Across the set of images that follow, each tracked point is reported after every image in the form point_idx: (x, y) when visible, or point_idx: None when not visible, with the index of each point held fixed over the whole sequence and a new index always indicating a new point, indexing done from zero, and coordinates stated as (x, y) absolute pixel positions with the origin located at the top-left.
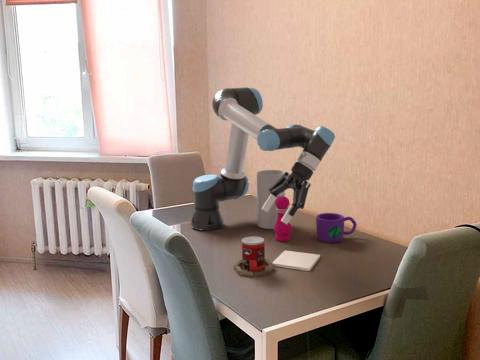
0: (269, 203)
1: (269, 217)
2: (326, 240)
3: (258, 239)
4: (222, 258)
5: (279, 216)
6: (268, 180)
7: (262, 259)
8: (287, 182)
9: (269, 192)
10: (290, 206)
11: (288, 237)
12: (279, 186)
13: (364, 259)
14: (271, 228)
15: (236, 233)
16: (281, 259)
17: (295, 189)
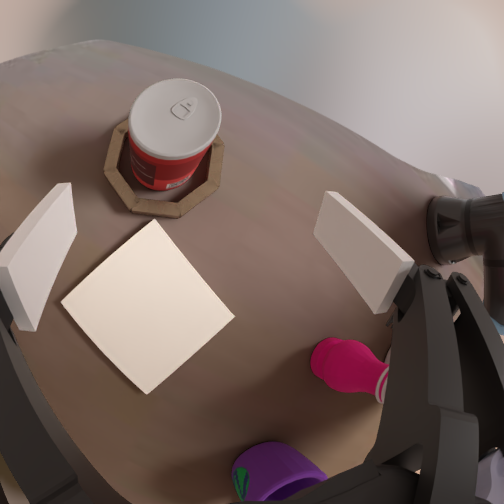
0: (349, 244)
1: None
2: (244, 454)
3: (176, 141)
4: (280, 136)
5: (376, 366)
6: None
7: (131, 159)
8: (423, 483)
9: None
10: (5, 255)
11: (316, 371)
12: (446, 350)
13: (93, 466)
14: (388, 353)
15: None
16: (166, 264)
17: (41, 493)
